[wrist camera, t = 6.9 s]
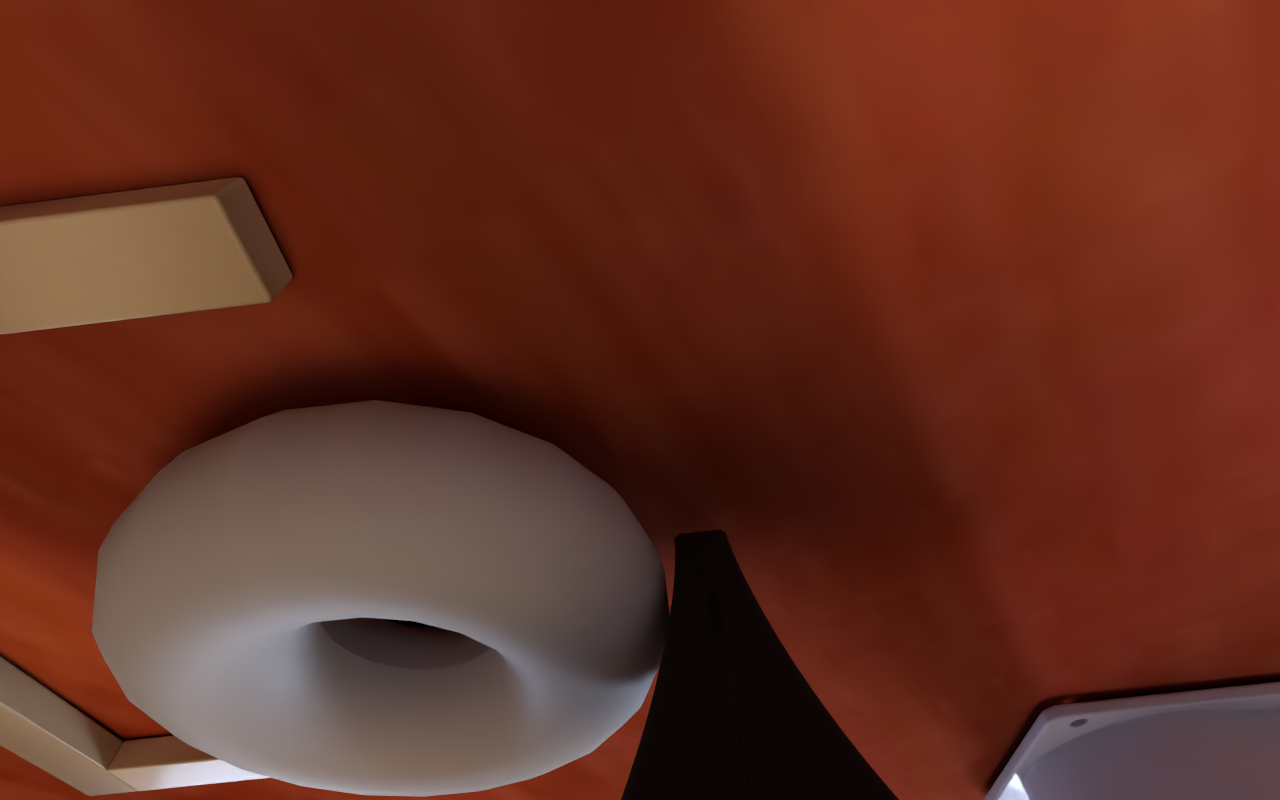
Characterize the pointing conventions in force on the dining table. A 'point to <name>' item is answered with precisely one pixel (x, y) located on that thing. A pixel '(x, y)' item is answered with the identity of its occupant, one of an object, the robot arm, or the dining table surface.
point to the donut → (382, 601)
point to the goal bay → (110, 291)
